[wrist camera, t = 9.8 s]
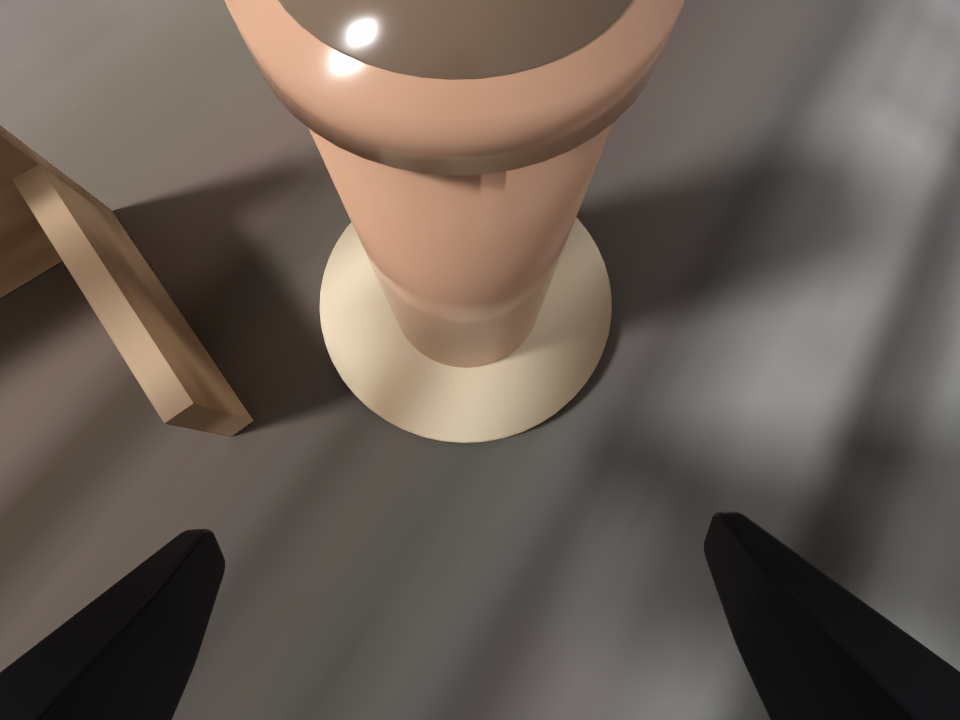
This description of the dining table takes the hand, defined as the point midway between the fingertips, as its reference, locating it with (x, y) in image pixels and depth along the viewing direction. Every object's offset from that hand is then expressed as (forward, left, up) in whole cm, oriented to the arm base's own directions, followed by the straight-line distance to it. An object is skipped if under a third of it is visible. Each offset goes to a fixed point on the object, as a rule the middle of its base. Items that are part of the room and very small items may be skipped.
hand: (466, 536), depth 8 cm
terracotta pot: (+4, -8, -9) cm, 12 cm away
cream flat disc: (+4, -8, -9) cm, 13 cm away
